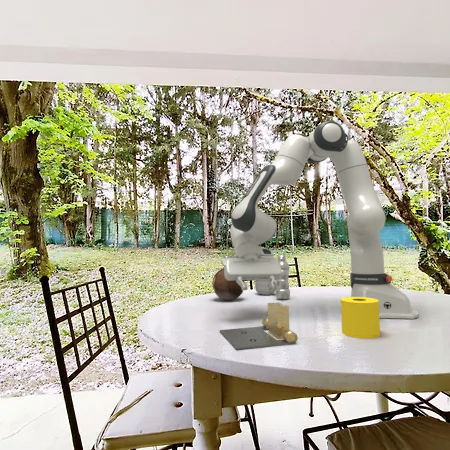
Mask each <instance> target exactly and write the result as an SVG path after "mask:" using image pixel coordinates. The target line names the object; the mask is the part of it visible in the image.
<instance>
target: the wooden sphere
mask: <svg viewBox="0 0 450 450" xmlns="http://www.w3.org/2000/svg"><path fill="white" fill-rule="evenodd" d="M242 281H243V282H244V283H246V282H245V281H246V280H242ZM211 285H212V290H213V292H214V294H215V295H216V296H217V297H218V298H219V299H222V300H224V301H233V300H236V299H237V298H239V297H240V296H241V295H242V294H243V292H244V290H242V288H241V286H240V285H239V284H238V283H237V282H236V280H231V281H228V280H227V279H226V278H225V274H224V267H223V268H221V269H219V270H218V271H216V273H215V274H214V275H213V279H212V284H211Z"/></svg>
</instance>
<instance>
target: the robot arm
mask: <svg viewBox="0 0 450 450" xmlns="http://www.w3.org/2000/svg"><path fill="white" fill-rule="evenodd" d="M328 158H329V159H330V161H332V163H333V165H334V167H335V173H336V176H337V177H336V178H337V180H338V185H339V188H340V191H341V195H342V197H343V200H344V203H345V206H346V208H347V211H348V215H347V221H346V222H347V233H348V240H349V242H348V243H349V248H350V249H349V250H350V267H351V268H350V269H351V273H350V276H349V280H350V281H349V283H350V288H351V294H350V295H351V296H350V297H367V298H374V299H377V300H379V319H380V318H381V319H405V320H406V319H407V320H409V319H412V320H414V319H417V318H419V312H418V311H417V310H416V309H414V308H412V305H411V302H410V299H409V297H408V296H407V294H405V293H404V292H402V291H401V290H400V289H399V288H397V287H396V286H394V285H393V284H392V281H393V276H391V275H390V274H387V273H386V272H385V264H384V263H385V260H384V249H383V246H382V241H381V235H380V231H381V230H382V229H383V228H384V226H385V223H386V214H385V211H384V209H383V206H382V203H381V202H380V199H379V196H378V194H377V192H376V189H375V186H374V184H373V181H372V178H371V177H372V176H371V174H370V170H369V167H368V163H367V160H366V157H365V155H364V152H363V150H362V147H361V145H360V144H359V142H357V141H356V140H353V139H352V140H350V139H349V136H348V134H347V133H346V132H345V130H344V128H343V126H342V125H341V124H340V123H339V122H338V121H335V120H325V121H324V122H321V123H319V124H318V125H317V126H316V127H315V128H314V130H313V131H312V132H311V133H310V134H309V136H303V135H301V134H298V133H297V134H292V135H289V136H288V137H287V138H286V139H285V141H284V142H283V144H282V146H280V148H279V150H278V152H277V154H276V156H275V158H274V160H273V162H272V163H270V164H267V165H265V166H264V167H263V168H262V169H261V170H260V172H259V173H258V174H257V175H256V177H255V179H254V180H253V182H252V183H251V185H250V186H249V188H248V189H247V191H246V192H245V193H244V195H243V196H242V198H241V199H240V200H239V201H238V203H237V204H236V205H235V206H234V207H233V209H232V210H231V214H230V219H231V226H230V234H229V235H230V239H231V243H232V247H234V254H235V255H233V256H229V255H226V256H224V257H222V258H221V264H222V266H223V268H224V274H225V278H226V279H227V280H228V281H231V280H236V282H237V283H238V284H239V285H240V286H241V288H242V290H243V291H247V289H248V286H247V285H248V284H247V283H246V282H245V283H244V282H243V281H242V280H244V281H255V280H268V281H269V282H270V283H268V285H267V286H268V289H269V290H270V289H273V288H274V284H273V281H274V280H277V279H279V278H280V276H281V275H282V269H281V266H280V264H279V262H278V258H276V257H275V256H274V255H275V252H274V251H273V250H272V249H267V248H264V247H261V246H260V245H263V244H265V243H267V242H268V241H269V240H271V239H272V238H273V237H274V236H275V235H276V232H277V229H278V228H277V225H278V224H277V221H276V219H275V218H273V217H272V216H270V215H269V214H267V213H265V212H264V211H262V210H261V209H259V208H258V205H259V202H260V201H261V199H262V198H263V196H264V194H265V193H266V192H267V190H268V188H269V187H270V186H272V185H277V186H290V185H293V184H295V183H296V182H298V180H299V178H301V175H302V173H303V170H304V168H305V165H306V163H307V162H311V163H316V164H317V163H322V162H324V161H325V160H328Z"/></svg>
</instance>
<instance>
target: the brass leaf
mask: <svg viewBox="0 0 450 450" xmlns="http://www.w3.org/2000/svg"><path fill="white" fill-rule="evenodd" d="M266 305H267V318H268V330H267V331H268V333H267V334H269V335H270V336H272V337H273V338H275V339H276V340H284V339H283V338H282V333H283V332H284V331H285V330H290V306H287V305H285V304H284V303H281V302H278V301H277V302H268V303H267V304H266ZM290 331H291V330H290Z"/></svg>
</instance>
